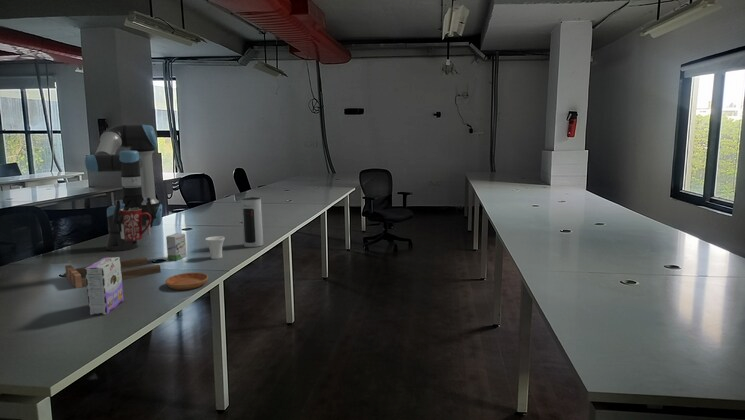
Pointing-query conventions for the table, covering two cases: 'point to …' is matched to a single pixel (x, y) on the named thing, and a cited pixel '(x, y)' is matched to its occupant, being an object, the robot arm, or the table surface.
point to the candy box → (104, 285)
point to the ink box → (176, 246)
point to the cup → (215, 246)
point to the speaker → (252, 222)
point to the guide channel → (78, 282)
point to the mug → (133, 223)
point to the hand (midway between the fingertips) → (136, 236)
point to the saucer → (186, 281)
